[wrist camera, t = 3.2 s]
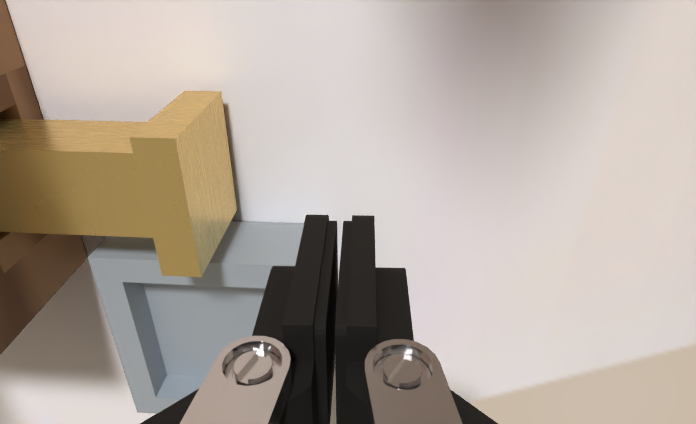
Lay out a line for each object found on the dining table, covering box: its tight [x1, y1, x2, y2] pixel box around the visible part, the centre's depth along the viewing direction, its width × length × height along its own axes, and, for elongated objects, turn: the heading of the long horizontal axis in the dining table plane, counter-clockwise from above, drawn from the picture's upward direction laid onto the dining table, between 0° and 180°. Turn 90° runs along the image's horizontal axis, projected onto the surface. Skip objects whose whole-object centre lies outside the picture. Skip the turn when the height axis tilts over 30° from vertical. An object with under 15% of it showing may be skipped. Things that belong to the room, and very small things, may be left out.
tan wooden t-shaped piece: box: [0, 91, 237, 277], centre depth 16 cm, size 7×4×4 cm, turn 90°
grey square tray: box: [87, 221, 304, 413], centre depth 20 cm, size 8×8×3 cm
